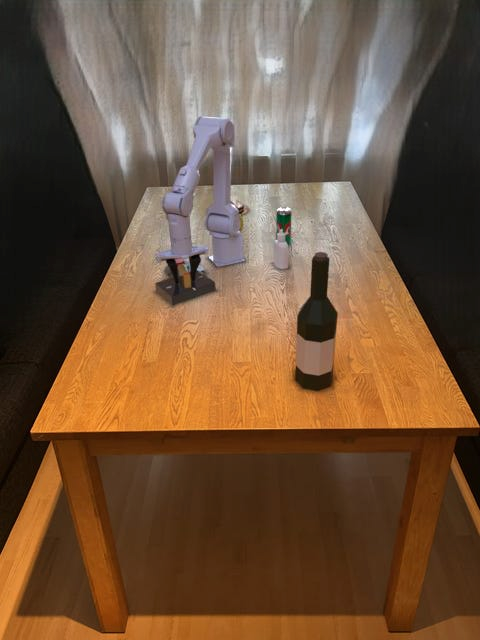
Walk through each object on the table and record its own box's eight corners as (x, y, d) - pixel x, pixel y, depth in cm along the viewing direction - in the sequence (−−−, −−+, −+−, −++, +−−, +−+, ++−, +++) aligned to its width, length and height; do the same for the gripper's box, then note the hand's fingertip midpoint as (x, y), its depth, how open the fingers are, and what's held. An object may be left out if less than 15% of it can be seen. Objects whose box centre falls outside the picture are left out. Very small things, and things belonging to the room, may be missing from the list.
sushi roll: (244, 217, 200) (244, 207, 198) (206, 217, 202) (205, 206, 200) (249, 204, 213) (249, 194, 210) (212, 203, 215) (212, 193, 212)
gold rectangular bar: (178, 277, 153) (177, 263, 151) (184, 276, 154) (183, 262, 152) (185, 288, 147) (183, 275, 145) (191, 287, 148) (190, 273, 146)
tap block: (196, 277, 160) (195, 267, 158) (217, 292, 151) (216, 282, 150) (154, 290, 153) (153, 281, 151) (174, 307, 145) (172, 297, 143)
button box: (195, 263, 168) (195, 255, 166) (205, 273, 162) (204, 264, 160) (165, 270, 164) (164, 261, 163) (173, 281, 158) (172, 272, 156)
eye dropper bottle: (287, 261, 167) (288, 226, 161) (288, 269, 162) (289, 233, 156) (273, 262, 167) (273, 226, 161) (274, 270, 162) (274, 233, 156)
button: (181, 262, 163) (181, 256, 162) (185, 266, 160) (185, 261, 159) (170, 264, 162) (170, 259, 161) (174, 269, 159) (173, 263, 158)
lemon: (242, 237, 184) (241, 215, 180) (226, 236, 186) (225, 214, 181) (245, 231, 189) (244, 209, 185) (230, 230, 190) (229, 209, 186)
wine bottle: (292, 368, 120) (295, 247, 104) (328, 366, 120) (337, 244, 104) (298, 392, 113) (303, 265, 97) (336, 389, 113) (348, 262, 97)
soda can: (291, 240, 181) (291, 206, 175) (290, 246, 177) (291, 212, 171) (276, 240, 182) (276, 206, 175) (275, 246, 177) (275, 211, 171)
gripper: (157, 245, 138) (162, 291, 145) (210, 237, 142) (213, 282, 149) (152, 236, 144) (157, 280, 151) (203, 228, 148) (206, 271, 155)
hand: (184, 280), depth 150 cm, fingers open, 4 cm apart
